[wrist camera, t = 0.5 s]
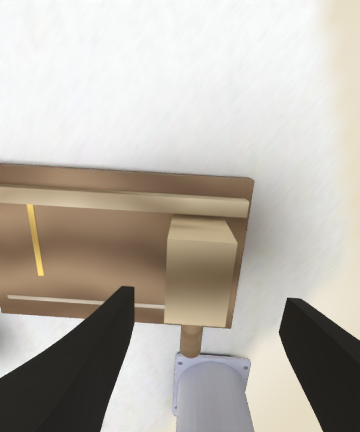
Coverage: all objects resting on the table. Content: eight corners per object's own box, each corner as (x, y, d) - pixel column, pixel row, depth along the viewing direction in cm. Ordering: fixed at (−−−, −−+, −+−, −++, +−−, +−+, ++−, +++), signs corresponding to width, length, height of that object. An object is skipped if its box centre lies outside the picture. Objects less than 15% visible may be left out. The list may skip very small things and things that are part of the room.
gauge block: (211, 316, 20) (218, 369, 15) (168, 313, 20) (162, 365, 15) (223, 216, 17) (237, 243, 12) (172, 213, 17) (167, 238, 12)
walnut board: (227, 316, 21) (233, 339, 19) (14, 302, 22) (-10, 322, 19) (248, 177, 17) (259, 182, 15) (-17, 162, 18) (-52, 164, 15)
